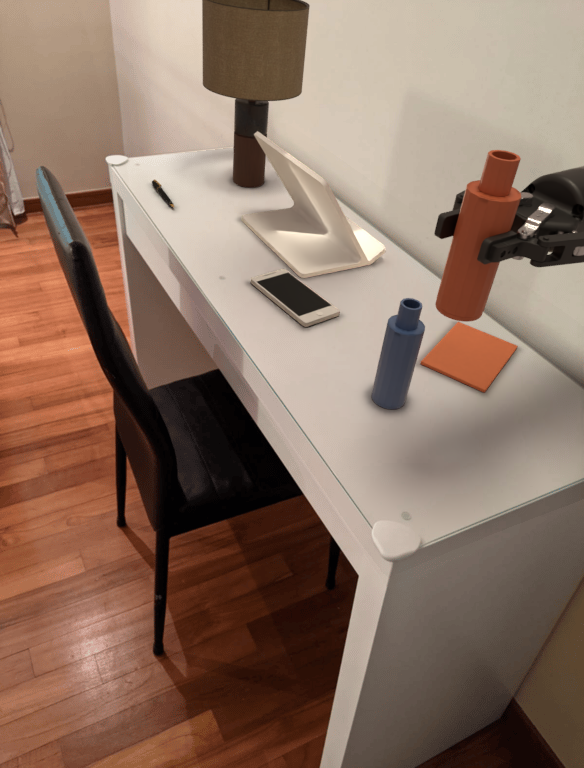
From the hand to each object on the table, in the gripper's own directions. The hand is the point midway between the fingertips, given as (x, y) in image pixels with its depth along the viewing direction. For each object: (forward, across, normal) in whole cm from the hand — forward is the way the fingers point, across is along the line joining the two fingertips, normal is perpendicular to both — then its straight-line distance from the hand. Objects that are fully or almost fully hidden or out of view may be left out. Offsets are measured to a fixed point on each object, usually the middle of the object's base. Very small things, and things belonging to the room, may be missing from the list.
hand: (460, 239), depth 54 cm
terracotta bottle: (-3, 0, +8) cm, 8 cm away
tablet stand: (-26, -54, +30) cm, 67 cm away
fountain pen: (-9, -82, +30) cm, 88 cm away
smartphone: (-11, -37, +30) cm, 49 cm away
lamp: (-30, -83, +30) cm, 93 cm away
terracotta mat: (-25, -12, +30) cm, 41 cm away
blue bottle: (-8, -10, +30) cm, 33 cm away
